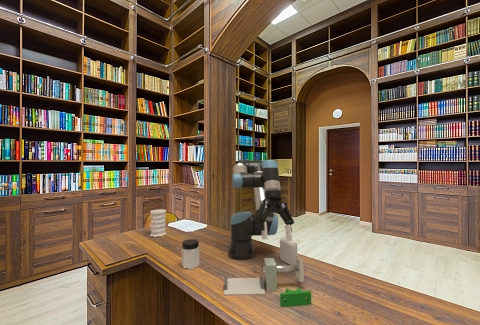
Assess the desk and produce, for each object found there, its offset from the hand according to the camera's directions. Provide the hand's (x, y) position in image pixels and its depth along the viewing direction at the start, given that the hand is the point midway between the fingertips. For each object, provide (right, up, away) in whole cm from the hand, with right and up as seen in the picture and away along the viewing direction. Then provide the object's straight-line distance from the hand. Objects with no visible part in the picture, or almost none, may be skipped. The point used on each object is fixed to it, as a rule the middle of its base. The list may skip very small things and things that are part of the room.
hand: (277, 239), depth 92 cm
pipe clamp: (+4, -19, -12) cm, 23 cm away
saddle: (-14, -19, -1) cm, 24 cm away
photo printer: (+9, -19, +21) cm, 30 cm away
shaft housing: (-3, -19, -1) cm, 19 cm away
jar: (-41, -20, +18) cm, 49 cm away
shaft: (+2, -16, -1) cm, 16 cm away
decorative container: (-75, -21, +66) cm, 102 cm away
